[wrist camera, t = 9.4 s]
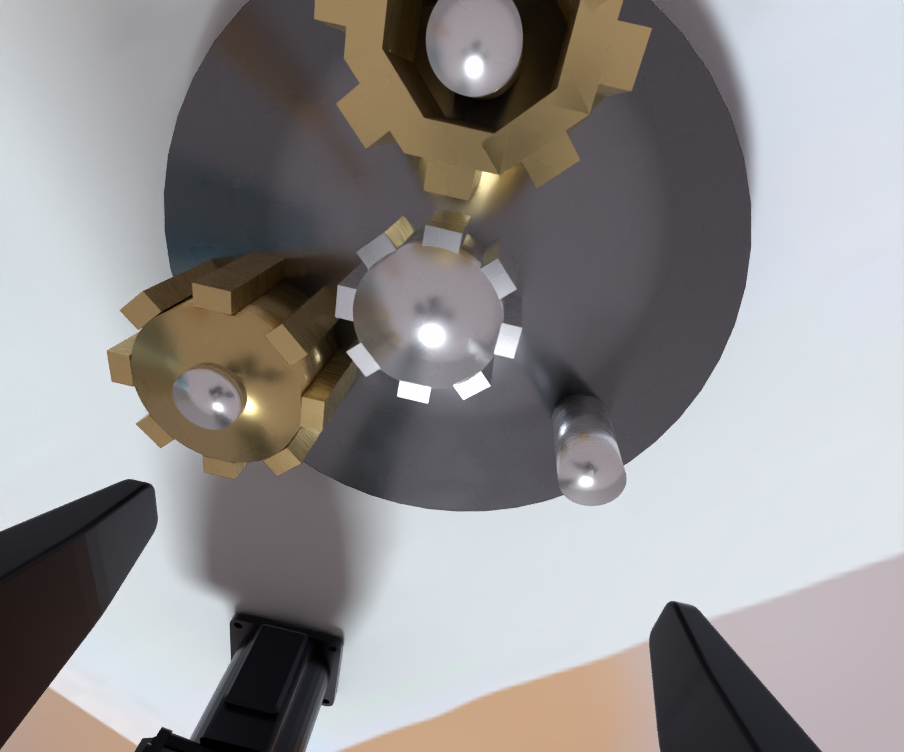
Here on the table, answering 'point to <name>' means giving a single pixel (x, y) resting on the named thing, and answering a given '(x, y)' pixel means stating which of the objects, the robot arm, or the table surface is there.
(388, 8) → the planet gear
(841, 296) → the table surface
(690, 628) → the robot arm
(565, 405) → the carrier
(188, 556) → the table surface
